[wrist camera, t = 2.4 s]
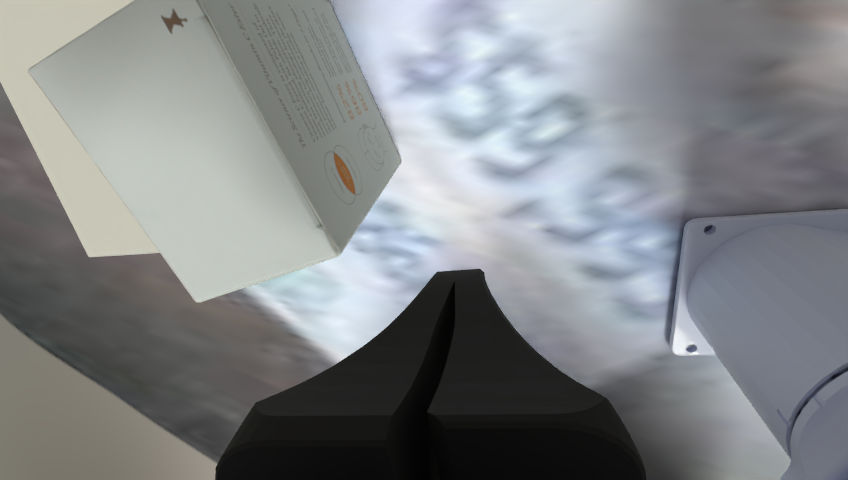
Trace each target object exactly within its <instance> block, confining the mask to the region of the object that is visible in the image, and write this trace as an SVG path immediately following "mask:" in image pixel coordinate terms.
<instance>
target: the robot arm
mask: <svg viewBox="0 0 848 480" xmlns="http://www.w3.org/2000/svg"><path fill="white" fill-rule="evenodd" d="M708 225H712V228H711V229H710V230H709V231H707V232H704V229H705V227H706V226H708ZM689 345H693V346H692V347H690V348H687V347H688V346H689ZM669 347H670V349H671V351H672V352H673V353H674V354H675V355H680V356H682V355H717V357H718V358H719V360H720V361H721V362H722V364H723V365H724V367H725V368H726V369H727V371H728V372H729V374H730V375H731V376H732V378H733V379H734V381H735V382H736V383H737V385H738V386H739V388H740V389H741V390H742V392H743V393H744V395H745V396H746V397H747V399H748V400H749V402H750V403H751V404H752V406H753V407H754V409H755V410H756V411H757V413H758V414H759V416H760V417H761V418H762V420H763V421H764V423H765V424H766V425H767V427H768V428H769V430H770V431H771V432H772V434H773V435H774V437H775V438H776V439H777V441H778V442H779V444H780V445H781V446H782V448H783V449H784V451H785V452H786V453H787V455H788V456H789V458H790V459H791V463H790V466H789V468H788V470H787V471H786V472H785V473H784V474H783V475H782V477H781V480H848V209H834V210H818V211H802V212H786V213H771V214H755V215H739V216H724V217H708V218H695V219H692V220H690V221H688V222H687V223H686V224H685V227H684V232H683V239H682V247H681V255H680V263H679V271H678V279H677V287H676V295H675V303H674V310H673V318H672V326H671V334H670V342H669ZM215 477H216V478H215V480H646V473H645V468H644V465H643V462H642V459H641V457H640V455H639V452H638V450H637V448H636V446H635V444H634V442H633V440H632V438H631V436H630V435H629V433H628V431H627V429H626V427H625V426H624V424H623V422H622V421H621V419H620V417H619V416H618V414H617V413H616V411H615V409H614V408H613V406H612V405H611V403H610V402H609V400H608V399H606V398H605V397H603V396H602V395H600V394H598V393H596V392H594V391H593V390H591V389H589V388H587V387H585V386H584V385H582V384H580V383H578V382H576V381H575V380H573V379H572V378H570V377H568V376H567V375H566V374H564V373H563V372H561V371H560V370H558V369H557V368H556V367H554V366H553V365H552V364H551V363H550V362H548V361H547V360H546V359H545V358H543V357H542V356H541V355H540V354H539V353H537V352H536V351H535V350H534V349H533V348H532V347H531V346H530V345H529V344H528V343H527V342H526V341H525V340H524V339H523V338H522V336H521V335H520V334H519V333H518V332H517V331H516V330H515V328H514V327H513V326H512V325H511V324H510V322H509V321H508V319H507V318H506V317H505V315H504V314H503V313H502V311H501V310H500V308H499V306H498V305H497V303H496V301H495V300H494V298H493V296H492V294H491V292H490V290H489V288H488V286H487V284H486V281H485V276H484V272H483V271H482V270H481V269H472V270H458V271H443V272H437V273H436V274H435V275H434V276H433V277H432V278H431V279H430V281H429V282H428V283H427V284H426V286H425V287H424V288H423V289H422V290H421V292H420V293H419V294H418V295H417V296H416V298H415V299H414V300H413V301H412V302H411V303H410V304H409V305H408V307H407V308H406V309H405V310H404V311H403V312H402V313H401V314H400V315H399V316H398V317H397V318H396V319H395V320H394V321H393V322H392V323H391V324H390V325H389V326H388V327H387V328H385V329H384V330H383V331H382V332H381V333H380V334H378V335H377V336H376V337H375V338H373V339H372V340H371V341H370V342H368V343H367V344H366V345H364V346H363V347H362V348H360V349H359V350H357V351H356V352H354V353H353V354H351V355H349V356H348V357H346V358H345V359H343V360H342V361H340V362H339V363H337V364H336V365H334V366H332V367H331V368H329V369H327V370H325V371H324V372H322V373H320V374H318V375H316V376H314V377H312V378H310V379H308V380H307V381H305V382H302V383H300V384H298V385H296V386H294V387H292V388H289V389H287V390H285V391H282V392H280V393H278V394H276V395H273V396H271V397H269V398H266V399H264V400H261V401H259V402H256V403H255V405H254V406H253V407H252V409H251V410H250V412H249V413H248V415H247V417H246V418H245V420H244V421H243V423H242V424H241V426H240V428H239V429H238V431H237V432H236V434H235V436H234V437H233V439H232V440H231V442H230V444H229V445H228V447H227V448H226V450H225V452H224V453H223V455H222V456H221V458H220V460H219V462H218V464H217V466H216V476H215Z"/></svg>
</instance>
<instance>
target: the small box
mask: <svg viewBox="0 0 848 480" xmlns="http://www.w3.org/2000/svg"><path fill="white" fill-rule="evenodd" d="M28 73H29V74H30V75H31V77H32V78H33V79H34V80H35V82H36V83H37V84H38V86H39V87H40V88H41V90H42V91H43V93H44V94H45V95H46V97H47V98H48V99H49V101H50V102H51V104H52V105H53V106H54V108H55V109H56V110H57V112H58V113H59V115H60V116H61V117H62V119H63V120H64V122H65V123H66V124H67V126H68V127H69V128H70V130H71V131H72V132H73V134H74V135H75V137H76V138H77V139H78V141H79V142H80V143H81V145H82V146H83V148H84V149H85V150H86V152H87V153H88V154H89V156H90V157H91V158H92V160H93V161H94V163H95V164H96V165H97V167H98V168H99V169H100V171H101V172H102V174H103V175H104V176H105V178H106V179H107V180H108V182H109V183H110V185H111V186H112V187H113V189H114V190H115V191H116V193H117V194H118V196H119V197H120V198H121V200H122V201H123V203H124V204H125V205H126V207H127V208H128V209H129V211H130V212H131V214H132V215H133V216H134V218H135V219H136V220H137V222H138V223H139V225H140V226H141V227H142V229H143V230H144V232H145V233H146V234H147V236H148V237H149V238H150V240H151V241H152V242H153V244H154V245H155V247H156V248H157V249H158V251H159V252H160V254H161V255H162V256H163V258H164V259H165V261H166V262H167V263H168V265H169V266H170V267H171V269H172V270H173V271H174V273H175V274H176V276H177V277H178V278H179V280H180V281H181V283H182V284H183V285H184V287H185V288H186V290H187V291H188V292H189V294H190V295H191V297H192V298H193V300H194V301H195V302H203V301H206V300H209V299H212V298H215V297H218V296H221V295H224V294H227V293H230V292H233V291H236V290H239V289H242V288H245V287H248V286H251V285H254V284H257V283H260V282H263V281H266V280H269V279H273V278H276V277H279V276H282V275H285V274H288V273H291V272H294V271H297V270H300V269H303V268H305V267H308V266H311V265H314V264H317V263H320V262H323V261H326V260H329V259H332V258H336V257H338V256H339V255H340V254H341V253H342V252H343V250H344V249H345V247H346V246H347V244H348V242H349V241H350V239H351V238H352V236H353V235H354V233H355V232H356V230H357V229H358V228H359V226H360V224H361V223H362V221H363V220H364V218H365V217H366V215H367V214H368V212H369V211H370V210H371V208H372V206H373V205H374V203H375V202H376V200H377V199H378V197H379V196H380V194H381V193H382V191H383V190H384V188H385V187H386V185H387V184H388V182H389V180H390V179H391V177H392V176H393V174H394V173H395V171H396V170H397V168H398V167H399V165H400V164H401V158H400V156H399V154H398V152H397V150H396V148H395V145H394V143H393V141H392V139H391V137H390V134H389V132H388V130H387V128H386V126H385V124H384V121H383V119H382V117H381V115H380V112H379V110H378V108H377V106H376V103H375V101H374V99H373V97H372V95H371V92H370V90H369V88H368V86H367V84H366V81H365V79H364V77H363V75H362V72H361V70H360V68H359V66H358V63H357V61H356V59H355V57H354V55H353V53H352V50H351V48H350V46H349V44H348V42H347V40H346V37H345V35H344V33H343V31H342V28H341V26H340V24H339V22H338V19H337V17H336V15H335V13H334V10H333V8H332V5H331V3H330V2H329V1H328V0H134V1H132V2H131V3H129V4H128V5H126V6H125V7H123V8H122V9H120V10H118V11H117V12H115V13H114V14H112V15H111V16H109V17H107V18H106V19H104V20H103V21H101V22H100V23H98V24H97V25H95V26H94V27H92V28H91V29H89V30H88V31H86V32H84V33H83V34H81V35H80V36H78V37H77V38H75V39H73V40H72V41H70V42H69V43H67V44H65V45H64V46H62V47H61V48H59V49H58V50H56V51H55V52H53V53H52V54H50V55H49V56H47V57H46V58H44V59H43V60H41V61H40V62H39V63H37V64H35V65H33V66H32V67H30V68H29V69H28Z"/></svg>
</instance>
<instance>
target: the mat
mask: <svg viewBox="0 0 848 480" xmlns="http://www.w3.org/2000/svg"><path fill="white" fill-rule="evenodd" d="M132 1H134V0H0V82H1V84H2V86H3V88H4V90H5V92H6V94H7V96H8V98H9V100H10V102H11V104H12V106H13V108H14V110H15V112H16V114H17V116H18V118H19V120H20V122H21V124H22V126H23V128H24V130H25V132H26V134H27V136H28V138H29V140H30V142H31V143H32V145H33V147H34V149H35V151H36V153H37V155H38V157H39V159H40V161H41V163H42V165H43V167H44V169H45V171H46V173H47V175H48V177H49V179H50V181H51V183H52V185H53V187H54V189H55V191H56V193H57V195H58V197H59V199H60V201H61V203H62V205H63V207H64V209H65V211H66V213H67V215H68V217H69V219H70V221H71V223H72V225H73V227H74V229H75V231H76V233H77V235H78V237H79V239H80V241H81V243H82V245H83V247H84V249H85V250H86V252H87V254H88V256H89V257H100V256H116V255H132V254H147V253H160V252H159V251H158V249H157V248H156V247H155V245H154V244H153V242H152V241H151V240H150V238H149V237H148V236H147V234H146V233H145V232H144V230H143V229H142V227H141V226H140V225H139V223H138V222H137V220H136V219H135V218H134V216H133V215H132V214H131V212H130V211H129V209H128V208H127V207H126V205H125V204H124V203H123V201H122V200H121V198H120V197H119V196H118V194H117V193H116V191H115V190H114V189H113V187H112V186H111V185H110V183H109V182H108V180H107V179H106V178H105V176H104V175H103V174H102V172H101V171H100V169H99V168H98V167H97V165H96V164H95V163H94V161H93V160H92V158H91V157H90V156H89V154H88V153H87V152H86V150H85V149H84V148H83V146H82V145H81V143H80V142H79V141H78V139H77V138H76V137H75V135H74V134H73V132H72V131H71V130H70V128H69V127H68V126H67V124H66V123H65V122H64V120H63V119H62V117H61V116H60V115H59V113H58V112H57V110H56V109H55V108H54V106H53V105H52V104H51V102H50V101H49V99H48V98H47V97H46V95H45V94H44V93H43V91H42V90H41V88H40V87H39V86H38V84H37V83H36V82H35V80H34V79H33V78H32V77H31V75H30V74H29V73H28V69H29V68H30V67H32V66H33V65H35V64H37V63H39V62H40V61H41V60H43V59H44V58H46V57H47V56H49V55H50V54H52V53H53V52H55V51H56V50H58V49H59V48H61V47H62V46H64V45H65V44H67V43H69V42H70V41H72V40H73V39H75V38H77V37H78V36H80V35H81V34H83V33H84V32H86V31H88V30H89V29H91V28H92V27H94V26H95V25H97V24H98V23H100V22H101V21H103V20H104V19H106V18H107V17H109V16H111V15H112V14H114V13H115V12H117V11H118V10H120V9H122V8H123V7H125V6H126V5H128V4H129V3H131V2H132Z"/></svg>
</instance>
